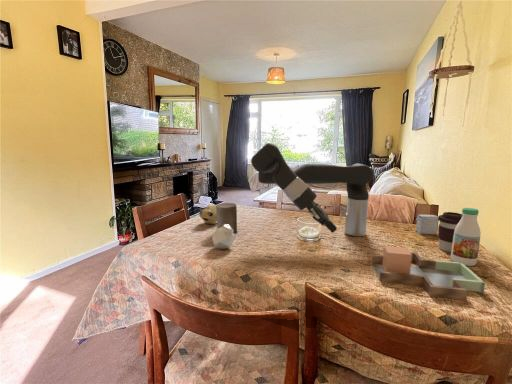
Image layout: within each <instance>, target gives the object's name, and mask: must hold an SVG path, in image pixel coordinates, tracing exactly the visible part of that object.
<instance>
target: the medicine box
mask: <svg viewBox="0 0 512 384" xmlns="http://www.w3.org/2000/svg"><path fill="white" fill-rule="evenodd" d="M416 216H417V217H416V226H415V232H416V231H417V232H416V233H418V234H419V235H438V231H439V223H440V221H439V220H438V216H437V215H435V214H417V215H416Z"/></svg>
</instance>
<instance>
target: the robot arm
mask: <svg viewBox="0 0 512 384" xmlns="http://www.w3.org/2000/svg"><path fill="white" fill-rule="evenodd" d="M250 162H251V166H252V167H253V168H254V169H255V170H256V171H257V173H258V175H257V177H258V182H259V183H261V184H265V185H267V184H268V185H270V184H271V185H273V184H275V185H277V186H278V187H279V189H281V190H282V191H283V193H284V194H285V195H286V197H287V198H288V199H289V200H290V202H292V203H293V204H294V205H295V207H297V208H298V210H300V211H303V210H305V209H307V210H308V214H309V215H310V216H311V217H312V219H313V220H315V221H316V222H317V223H318V224H320V226H325V227H326V229H327V230H329V231H330V232H331V233H332V234H333V233H335V232H336V231H337V229H338V228H337V226H336V225H335V223H333V221H331V220H330V217H329V215H328V214H327V212H326V211H325V210H324V209H323V208H322V206H321V205H320V204H319V202H317V203H316V202H315V200H316V198H317V194H316V193H315V192H314V191H313V190H312V188H311V187H309V184H310V185H311V184H312V185H314V184H315V185H316V184H317V185H319V184H320V185H323V184H324V185H325V184H327V185H328V184H337V183H338V184H340V183H341V184H342V183H343V184H346V192H347V201H346V202H347V203H346V205H347V206H346V213H345V219H344V234H346V235H349V236H351V237H352V236H353V237H364V236H366V235H367V226H368V225H367V224H368V223H367V221H368V213H369V210H368V209H369V198H370V195H369V194H370V193H369V192H368V190H367V184H369V183H371V182H372V181H373V179H374V176H375V175H374V174H375V173H374V171H373V169H372V168H371V167H370V166H368V165H366V164H363V163H353V164H352V165H350V166H343V165H334V164H328V163H317V162H316V163H315V162H314V163H311V162H310V163H306V164H303V165H302V166H300V167H299V168H297V169H295V170H294V171H293V170H292V168H291V167H290V166H289V165H288V163H287V162H286V160H285V159H284V156H283V155H282V153H281V150H280V149H279V147H278V146H277V145H276V144H275V143H272V142H267V143H265V144H264V145H263V146H262V147H261V148H260V149H259V150H258V151H257V152H256V153H255V154H254V155H253V156H252V158H251V160H250Z"/></svg>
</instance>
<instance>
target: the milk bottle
mask: <svg viewBox="0 0 512 384" xmlns="http://www.w3.org/2000/svg"><path fill="white" fill-rule="evenodd" d="M461 212H462V213H461V214H462V218H461V220H460V221H459V223H458V224H457V226H456V228H455V231H454V236H453V243H452V251H451V252H450V260H451V262H461V263H463V264H464V265H465V266H466V267H473V266H476V265H477V263H478V258H479V250H480V243H481V236H482V235H481V228H480V225H479V223H478V216H479V210H478V209H477V208H472V207H463V208H462V210H461Z"/></svg>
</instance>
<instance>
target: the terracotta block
mask: <svg viewBox="0 0 512 384" xmlns="http://www.w3.org/2000/svg"><path fill="white" fill-rule="evenodd" d="M382 251H383V252H382V256H383V261H382V269H383V271H384V272H394V273H405V274H410V269H411V266H412V261H411V260H412V254H411V253H410V252H411V251H410V250H409V249H408V248H407V247H400V246H387V245H383V250H382Z"/></svg>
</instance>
